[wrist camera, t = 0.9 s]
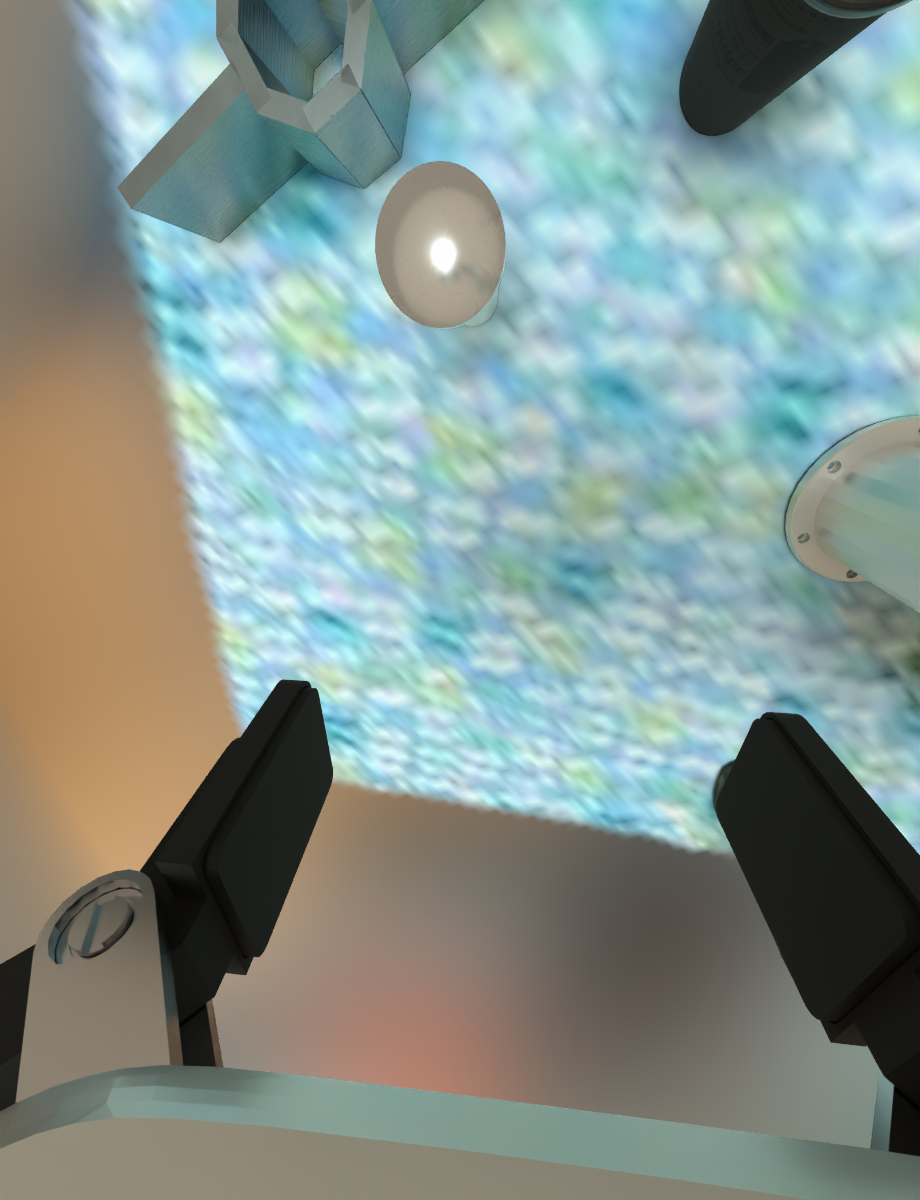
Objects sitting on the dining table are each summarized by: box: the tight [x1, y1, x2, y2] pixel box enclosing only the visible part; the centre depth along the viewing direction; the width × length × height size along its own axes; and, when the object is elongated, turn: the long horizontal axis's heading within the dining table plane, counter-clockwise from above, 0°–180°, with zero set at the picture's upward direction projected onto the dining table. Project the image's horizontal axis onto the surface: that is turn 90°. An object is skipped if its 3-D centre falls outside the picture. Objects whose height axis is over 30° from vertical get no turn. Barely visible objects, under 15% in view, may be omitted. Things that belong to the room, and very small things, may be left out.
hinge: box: [117, 0, 483, 243], centre depth 23 cm, size 24×7×8 cm, turn 119°
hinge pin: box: [375, 161, 506, 329], centre depth 24 cm, size 5×5×15 cm
